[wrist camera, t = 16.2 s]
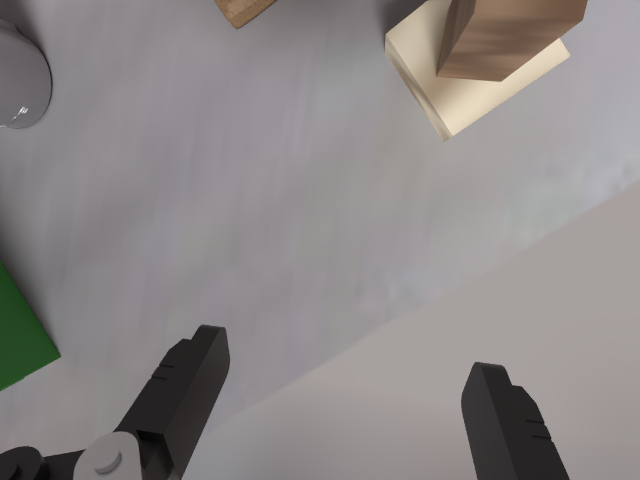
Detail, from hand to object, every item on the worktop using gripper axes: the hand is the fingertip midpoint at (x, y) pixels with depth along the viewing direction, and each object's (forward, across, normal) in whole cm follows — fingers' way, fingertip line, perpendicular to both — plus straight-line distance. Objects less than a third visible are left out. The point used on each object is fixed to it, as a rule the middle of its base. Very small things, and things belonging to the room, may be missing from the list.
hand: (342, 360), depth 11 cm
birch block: (+25, -7, -8) cm, 27 cm away
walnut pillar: (+22, -7, -9) cm, 24 cm away
